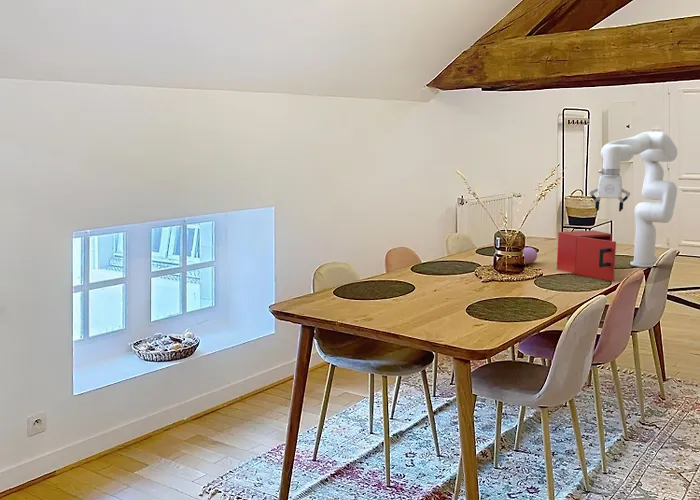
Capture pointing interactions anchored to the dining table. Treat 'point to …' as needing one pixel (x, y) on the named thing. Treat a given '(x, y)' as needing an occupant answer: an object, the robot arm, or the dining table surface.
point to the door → (595, 258)
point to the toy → (529, 255)
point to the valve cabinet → (574, 247)
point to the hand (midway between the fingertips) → (608, 210)
